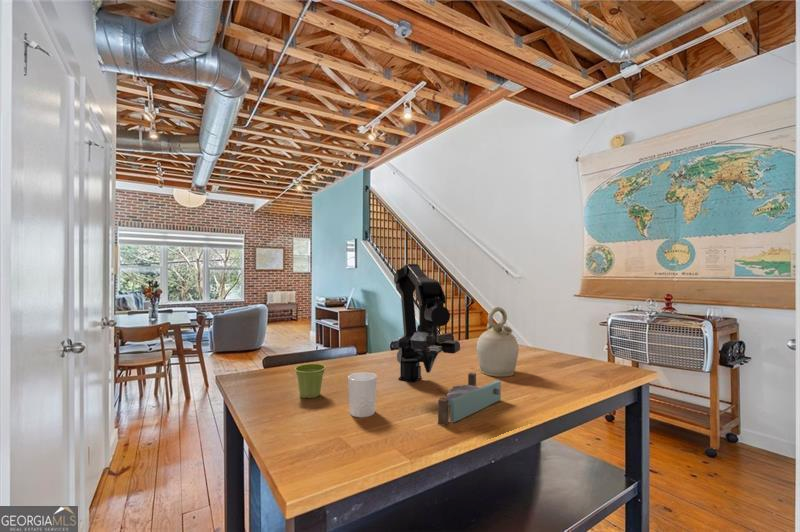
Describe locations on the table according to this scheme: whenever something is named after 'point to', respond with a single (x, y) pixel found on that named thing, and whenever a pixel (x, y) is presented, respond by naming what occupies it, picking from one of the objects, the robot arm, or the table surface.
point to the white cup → (362, 393)
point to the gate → (474, 400)
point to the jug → (497, 348)
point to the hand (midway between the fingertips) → (428, 372)
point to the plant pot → (310, 379)
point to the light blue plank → (444, 402)
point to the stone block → (459, 391)
